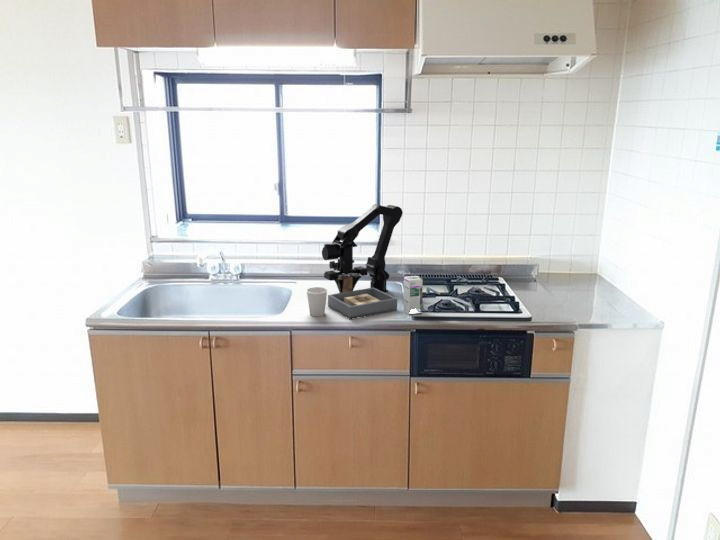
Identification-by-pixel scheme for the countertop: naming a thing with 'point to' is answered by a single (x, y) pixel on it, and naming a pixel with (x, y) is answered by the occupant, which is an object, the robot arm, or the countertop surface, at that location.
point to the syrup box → (412, 293)
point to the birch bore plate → (360, 299)
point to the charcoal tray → (383, 306)
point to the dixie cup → (317, 300)
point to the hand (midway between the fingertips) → (346, 292)
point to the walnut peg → (346, 283)
